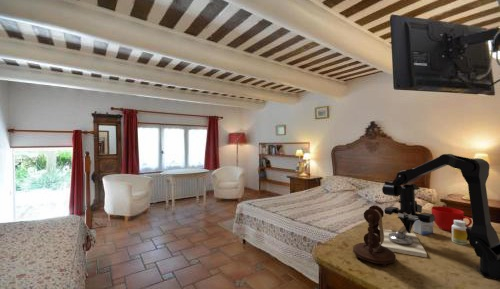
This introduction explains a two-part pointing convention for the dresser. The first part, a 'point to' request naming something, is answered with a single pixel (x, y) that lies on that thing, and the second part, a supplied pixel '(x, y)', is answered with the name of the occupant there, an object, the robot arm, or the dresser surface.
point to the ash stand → (406, 249)
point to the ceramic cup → (447, 217)
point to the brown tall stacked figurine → (374, 240)
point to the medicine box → (422, 227)
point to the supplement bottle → (459, 232)
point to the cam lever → (401, 237)
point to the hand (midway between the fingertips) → (409, 233)
